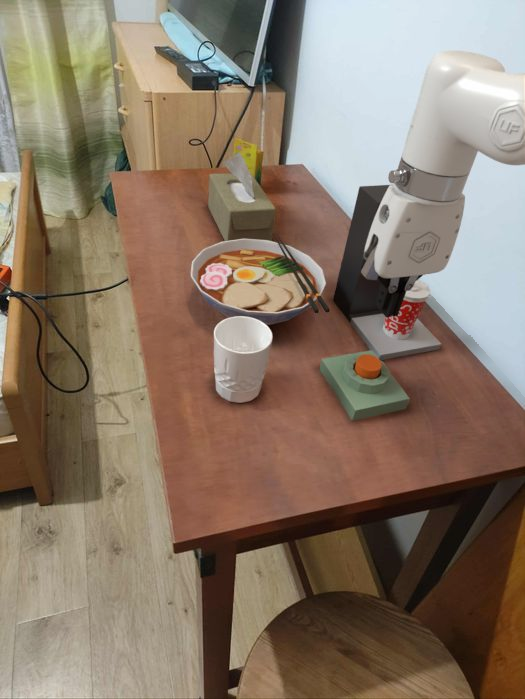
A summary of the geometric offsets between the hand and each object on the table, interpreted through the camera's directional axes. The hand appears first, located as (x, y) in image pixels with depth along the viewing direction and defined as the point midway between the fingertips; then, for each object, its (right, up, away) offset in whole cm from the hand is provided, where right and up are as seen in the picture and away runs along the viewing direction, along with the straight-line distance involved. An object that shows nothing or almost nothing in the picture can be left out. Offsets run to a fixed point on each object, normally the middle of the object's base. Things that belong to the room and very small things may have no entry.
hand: (386, 310), depth 69 cm
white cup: (-20, -11, +6) cm, 24 cm away
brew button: (-1, -8, +6) cm, 10 cm away
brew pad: (-2, -11, +8) cm, 14 cm away
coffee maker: (+5, -1, +21) cm, 22 cm away
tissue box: (-22, +22, +44) cm, 54 cm away
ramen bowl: (-18, +2, +21) cm, 28 cm away
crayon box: (-21, +35, +60) cm, 73 cm away
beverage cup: (+6, -2, +18) cm, 19 cm away
